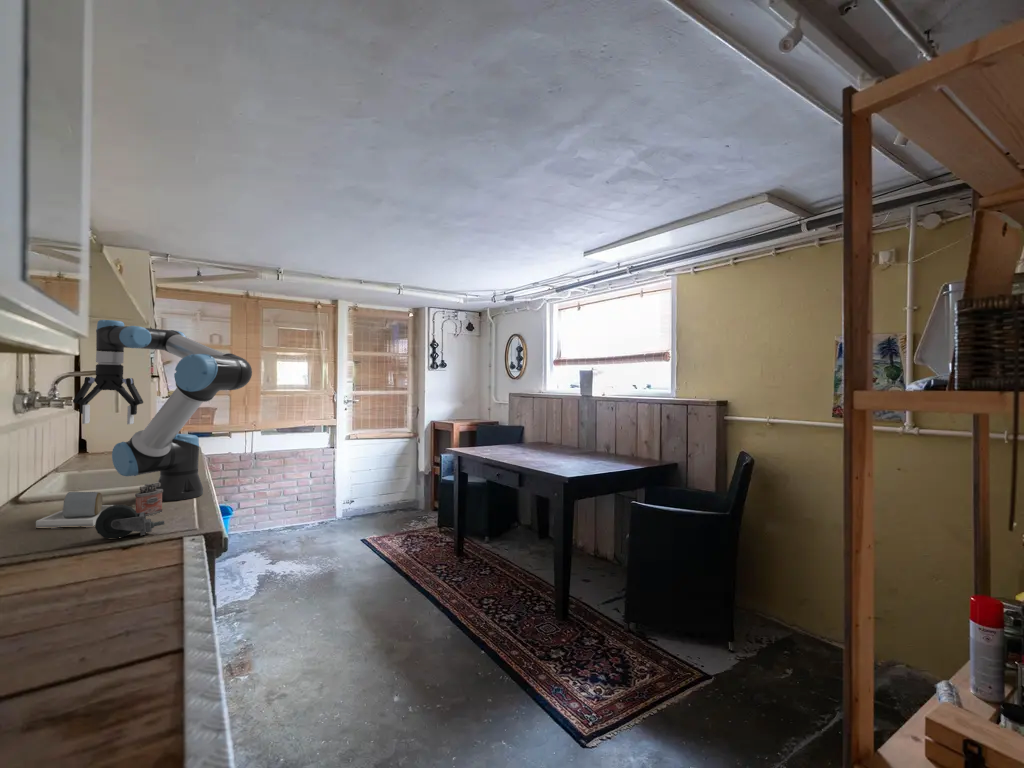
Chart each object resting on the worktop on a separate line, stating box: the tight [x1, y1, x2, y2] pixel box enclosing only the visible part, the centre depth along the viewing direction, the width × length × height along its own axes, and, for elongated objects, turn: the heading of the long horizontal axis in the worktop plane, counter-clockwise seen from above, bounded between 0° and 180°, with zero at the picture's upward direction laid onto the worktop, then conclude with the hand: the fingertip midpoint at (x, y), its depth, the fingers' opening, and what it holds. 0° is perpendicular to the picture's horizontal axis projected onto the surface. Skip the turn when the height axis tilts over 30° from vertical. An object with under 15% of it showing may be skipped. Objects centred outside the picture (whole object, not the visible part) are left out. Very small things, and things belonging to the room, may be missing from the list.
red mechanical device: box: [134, 481, 163, 517], centre depth 155 cm, size 8×3×10 cm, turn 162°
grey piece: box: [62, 491, 103, 518], centre depth 149 cm, size 11×8×8 cm
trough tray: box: [35, 504, 114, 528], centre depth 147 cm, size 14×16×2 cm
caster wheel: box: [94, 504, 165, 539], centre depth 135 cm, size 6×10×15 cm
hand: (108, 423), depth 170 cm, fingers open, 13 cm apart
